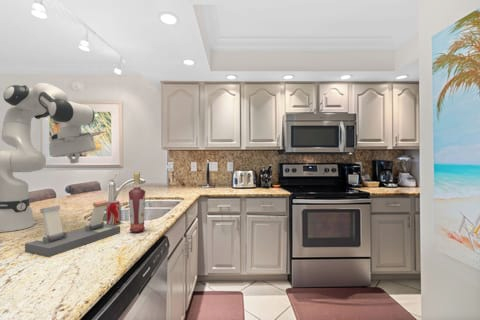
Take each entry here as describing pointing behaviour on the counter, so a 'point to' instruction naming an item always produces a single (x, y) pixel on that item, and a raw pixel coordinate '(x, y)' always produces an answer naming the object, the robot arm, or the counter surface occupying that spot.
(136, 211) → the liquor
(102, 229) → the switch board
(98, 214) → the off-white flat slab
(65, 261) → the counter surface
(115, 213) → the soda can
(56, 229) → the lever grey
